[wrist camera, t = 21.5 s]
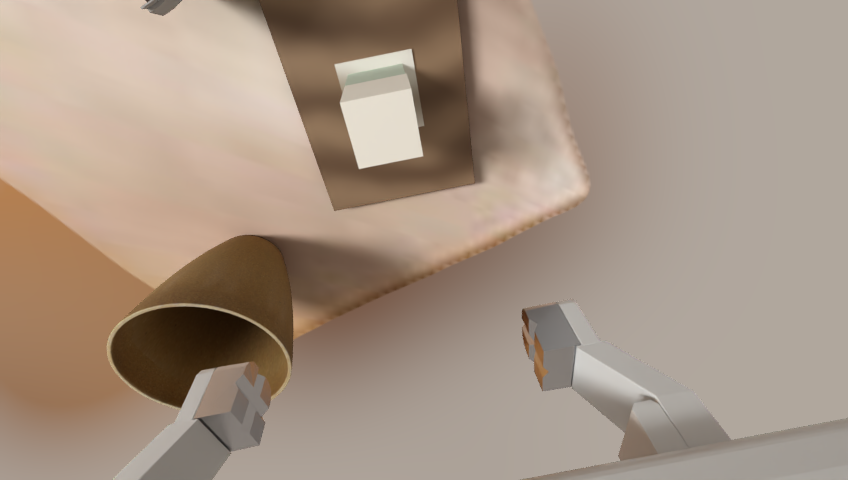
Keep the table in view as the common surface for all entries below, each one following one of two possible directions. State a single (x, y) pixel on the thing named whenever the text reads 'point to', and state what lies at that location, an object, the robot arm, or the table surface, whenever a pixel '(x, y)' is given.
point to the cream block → (381, 121)
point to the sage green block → (374, 74)
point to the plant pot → (209, 322)
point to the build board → (365, 50)
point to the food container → (160, 6)
